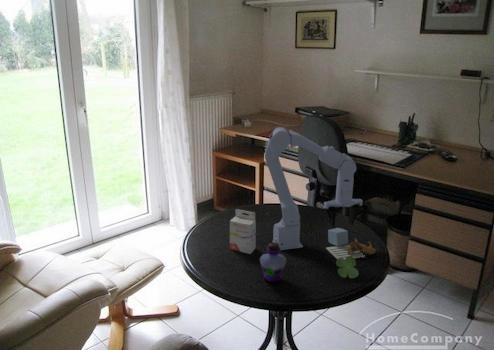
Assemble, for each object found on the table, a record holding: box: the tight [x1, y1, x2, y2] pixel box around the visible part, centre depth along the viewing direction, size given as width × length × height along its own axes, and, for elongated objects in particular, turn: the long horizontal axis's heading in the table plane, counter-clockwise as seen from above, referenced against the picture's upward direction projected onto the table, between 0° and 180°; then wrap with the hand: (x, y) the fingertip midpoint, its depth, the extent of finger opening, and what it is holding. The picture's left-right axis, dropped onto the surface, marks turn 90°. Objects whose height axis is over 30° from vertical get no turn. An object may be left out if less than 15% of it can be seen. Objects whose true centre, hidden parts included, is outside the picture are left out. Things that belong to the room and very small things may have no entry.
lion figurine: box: [346, 237, 380, 255], centre depth 147 cm, size 12×4×7 cm
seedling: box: [335, 256, 360, 279], centre depth 134 cm, size 7×8×6 cm
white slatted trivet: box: [325, 244, 366, 260], centre depth 148 cm, size 12×10×1 cm
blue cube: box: [327, 227, 349, 246], centre depth 154 cm, size 5×5×6 cm
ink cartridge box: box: [229, 208, 257, 255], centre depth 148 cm, size 9×5×15 cm, turn 65°
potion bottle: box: [259, 242, 288, 284], centre depth 129 cm, size 9×9×12 cm
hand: (341, 224), depth 151 cm, fingers open, 7 cm apart
